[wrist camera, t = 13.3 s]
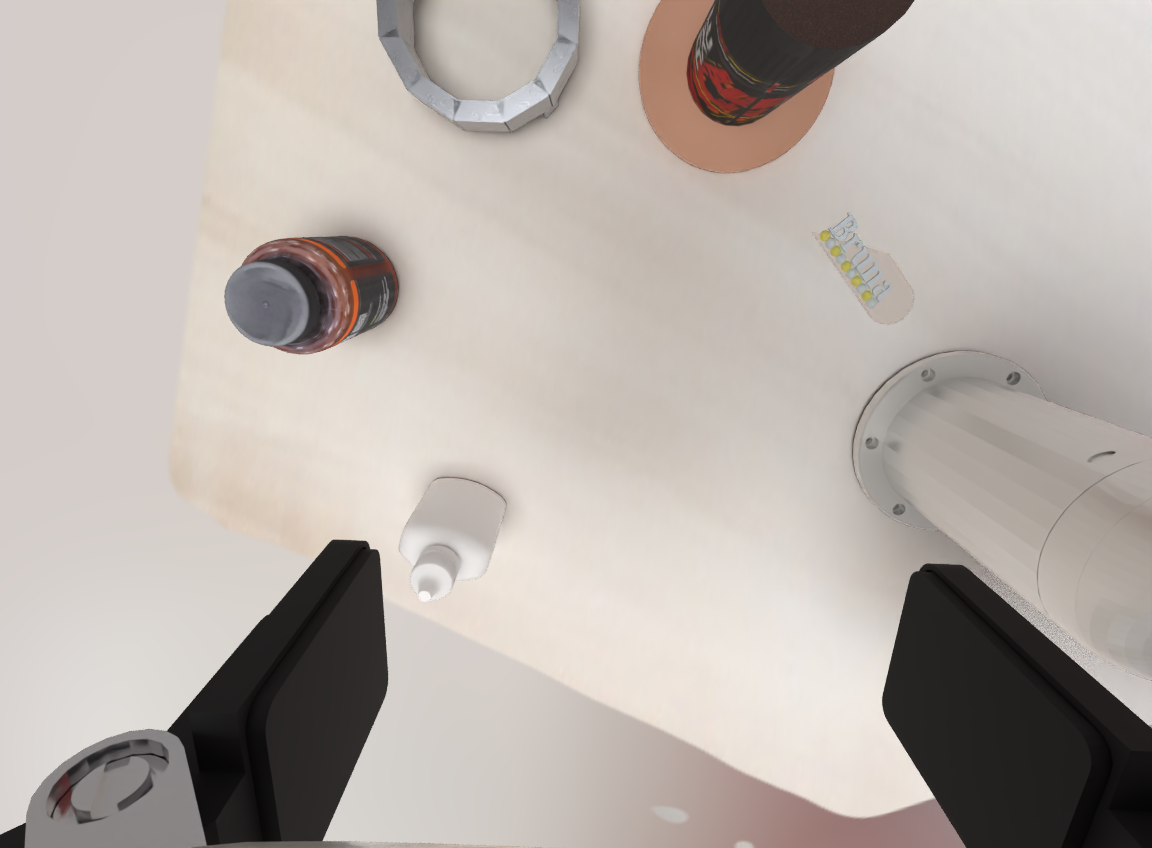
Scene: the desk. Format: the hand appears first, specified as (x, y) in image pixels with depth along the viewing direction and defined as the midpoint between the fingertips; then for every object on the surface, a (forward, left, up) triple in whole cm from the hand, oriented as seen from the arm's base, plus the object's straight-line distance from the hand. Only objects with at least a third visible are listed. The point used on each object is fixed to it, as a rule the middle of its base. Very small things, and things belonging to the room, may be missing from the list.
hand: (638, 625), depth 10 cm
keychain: (-16, -6, -31) cm, 35 cm away
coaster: (-7, -16, -30) cm, 35 cm away
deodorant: (-7, -16, -30) cm, 34 cm away
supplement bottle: (+16, -3, -31) cm, 35 cm away
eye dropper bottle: (+9, +12, -31) cm, 34 cm away
